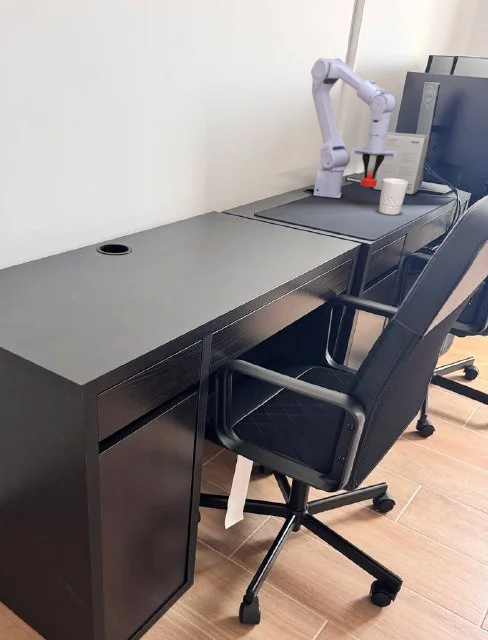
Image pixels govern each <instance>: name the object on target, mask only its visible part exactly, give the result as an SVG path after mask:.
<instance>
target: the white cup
mask: <svg viewBox="0 0 488 640" xmlns="http://www.w3.org/2000/svg"><path fill="white" fill-rule="evenodd" d="M407 185H408V181H405V180H401V179H393V178H387V179H383V183H382V189H381V190H380V195H379V196H380V197H379V205H378V212H379V213H380V214H383V215H389V216H390V215H391V216H395V215H399V214H400V213H401V209H402V205H403V203H404V200H405V196H406V194H405V193H406V189H407Z"/></svg>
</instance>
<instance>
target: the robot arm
mask: <svg viewBox="0 0 488 640" xmlns="http://www.w3.org/2000/svg"><path fill="white" fill-rule="evenodd" d="M310 74H311V79H312V85H311V95H312V99H313V104H314V107H315V112H316V116H317V120H318V124H319V128H320V133H321V137H322V141H323V145H322V146H321V148H320V150H319V151H320V165H321V167H322V168H318V169H317V171H316V177H315V182H314V185H313V186H314V187H313V196H315V197H324V198H332V199H333V198H334V199H341V196H342V194H343V193H342V192H341V190H342V184H343V178H344V173H345V170H346V167H348V165H349V164H350V161H351V155H360V156H362V157H361V158H362V163H363V170H364V177H363V178H367V172H368V171H369V170H368V169H369V164H370V159H371V156H373V157H376V158H375V162H374V168H373V170H372V171H373V176H372V178H373V179H375V175H376V172H377V170H378V168H379V166H380V165H381V163H382V162H383V160H384V157H393V158H396V155H397V151H392V150H384V145H385V140H386V135H387V132H388V130H389V125H390V120H391V115H392V113H393V112H394V110H395V109H396V107H397V98H396V96H395V95H394V93H391V92H387V93H386V89H384V88H380V87H379V86H378V85H377V83H376V80H374V79H365V80H364V79H362V77H361V76H360V75H359V74H357V73H356V72H355V71H354V70H353V68H351V67H350V66H349V65H348V64H347V62H345V61H343V60H342V59H340V58H325V57H319V58H318V59H317V60H316V61H315V62H314V64H313V66H312V68H311V70H310ZM339 80H342V81H343V82H345V84H347V85H349V86H350V87H351V88H353V89H354V90H356V96H357V98H359V99H360V100H361V101H362V102H364V104H366V105H367V106H369V108H370V109H369V110H370V112H371V115H370V118H371V120H370V125H369V130H368V135H367V141H366V146H365V147H352V148H351V152H350V151H349V150H348V148H347V146H346V143H345V142H344V141H343V140H342V139H341V138H340V135H339V130H338V125H337V121H336V117H335V112H334V108H333V104H332V100H331V95H330V91H331V90H332V88H333V87H334V86H335V85H336V83H337V82H338V81H339Z"/></svg>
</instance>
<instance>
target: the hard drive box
mask: <svg viewBox="0 0 488 640" xmlns="http://www.w3.org/2000/svg"><path fill="white" fill-rule="evenodd" d="M429 141H430V135H427V134H415V133H407V132H406V133H405V132H402V133H401V132H393V131H387V135H386V140H385V145H384V150H392V151H397V155H396V158H393V157H384V160H383V162H382V163H381V165H380V166H379V168H378V170H377V172H376V174H375V177H374V179H377V183H376V187H372V189H373V190H377V191H381V189H382V183H383V179H387V178H393V179H401V180H405V181H408V185H407V189H406V193H405V195H415V194H416V193H417V192H418V190H419V184H420V180H421V176H422V173H423V172H422V171H423V167H424V163H425V159H426V154H427V151H428V150H427V149H428V144H429Z"/></svg>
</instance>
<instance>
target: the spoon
mask: <svg viewBox="0 0 488 640" xmlns="http://www.w3.org/2000/svg"><path fill="white" fill-rule="evenodd" d="M373 171H374V170H368V171H367V178H364V177H361V178H360V181H359V182H360V183H359V185H360V186H361V187H366V188H373V187H376V183H377V179H375V178H374V179H373V178H372V176H373Z"/></svg>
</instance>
